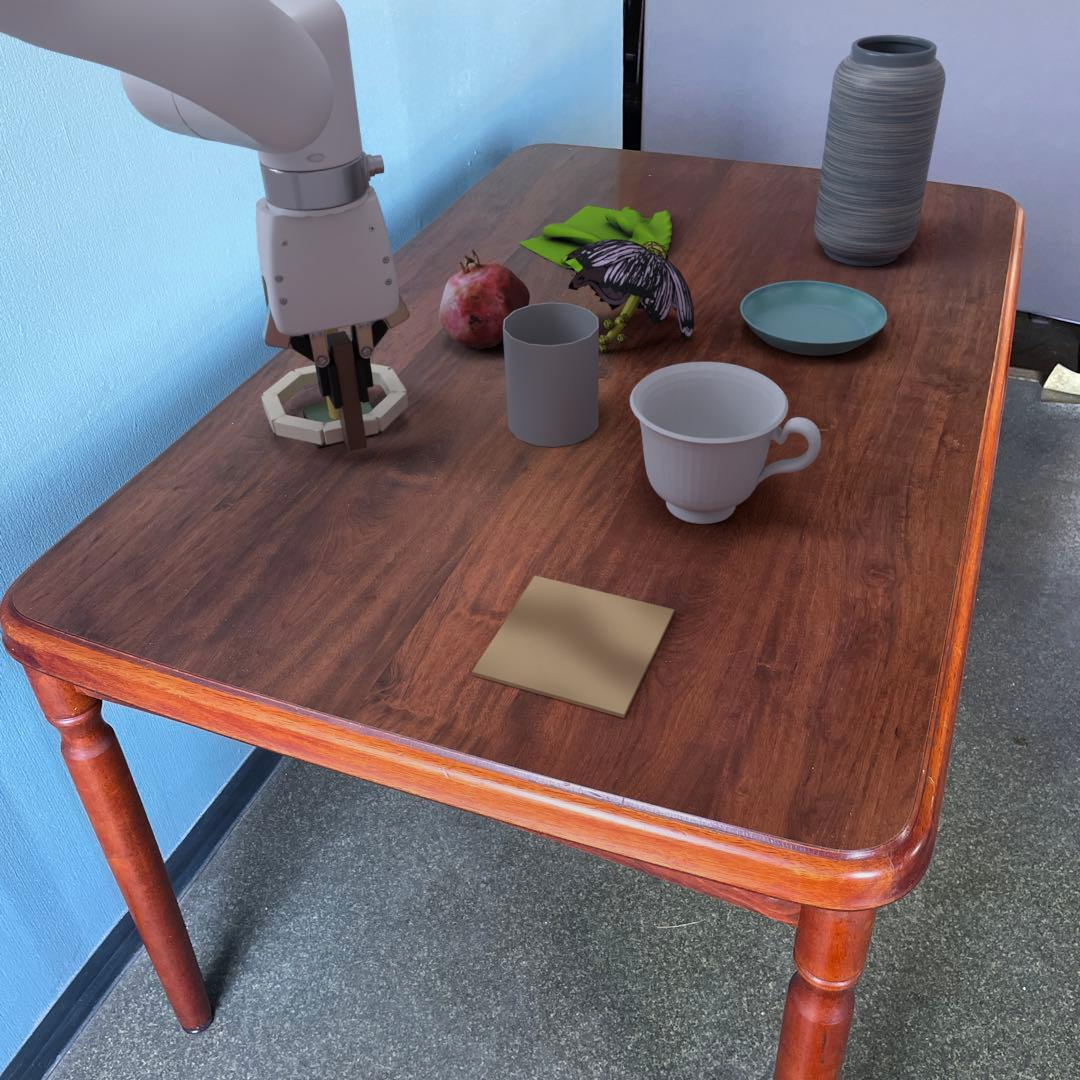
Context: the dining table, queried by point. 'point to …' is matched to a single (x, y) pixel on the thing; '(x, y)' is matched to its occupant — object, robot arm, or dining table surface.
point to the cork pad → (576, 645)
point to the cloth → (598, 232)
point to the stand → (329, 408)
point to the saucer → (812, 316)
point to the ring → (351, 419)
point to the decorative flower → (633, 284)
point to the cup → (552, 373)
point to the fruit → (480, 302)
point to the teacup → (713, 436)
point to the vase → (878, 148)
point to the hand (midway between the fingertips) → (347, 397)
